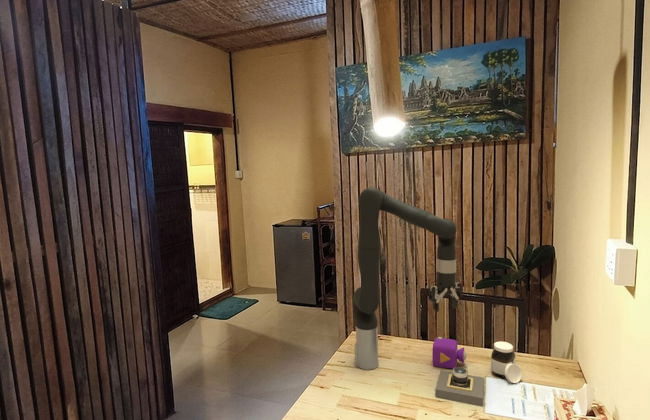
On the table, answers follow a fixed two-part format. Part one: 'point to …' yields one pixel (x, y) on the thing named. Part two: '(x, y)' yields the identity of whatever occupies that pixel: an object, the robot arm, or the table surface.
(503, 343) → the spread jar
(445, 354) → the toy camera
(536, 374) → the table surface
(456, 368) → the lens
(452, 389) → the mount plate
